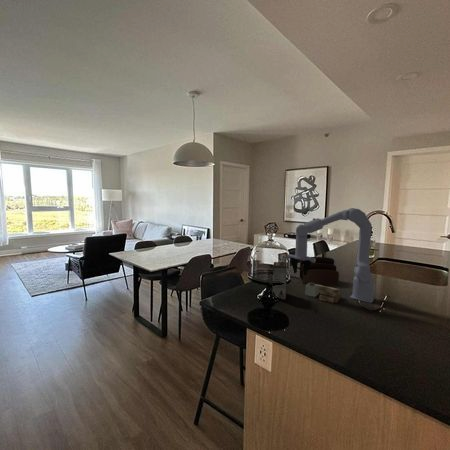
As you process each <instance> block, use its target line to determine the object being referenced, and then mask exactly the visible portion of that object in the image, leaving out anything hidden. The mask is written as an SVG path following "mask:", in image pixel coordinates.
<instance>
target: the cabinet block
mask: <svg viewBox="0 0 450 450" xmlns="http://www.w3.org/2000/svg"><path fill="white" fill-rule="evenodd" d="M304 285H305V288H304V289H305V291H304V295H306V296H309V297H312V296H313V298H316V297H318V295H319V285H320V284H318V285H317V284H315V283H312V282H311V283H308V284H304Z"/></svg>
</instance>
